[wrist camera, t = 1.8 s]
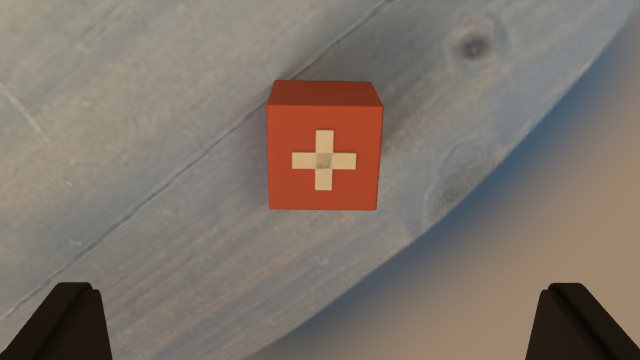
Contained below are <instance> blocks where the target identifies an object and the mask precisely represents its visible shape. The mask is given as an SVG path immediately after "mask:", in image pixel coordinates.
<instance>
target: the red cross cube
mask: <svg viewBox="0 0 640 360" xmlns="http://www.w3.org/2000/svg"><path fill="white" fill-rule="evenodd" d="M383 110H384V107H383V105H382V103H381V101H380V99H379V97H378V95H377V93H376V91H375V89H374V88H373V86H372V84H371V82H350V81H291V80H276V81H275V82H274V85H273V88H272V91H271V94H270V97H269V100H268V103H267V144H268V190H269V209H286V210H376V208H377V194H378V180H379V166H380V152H381V138H382V124H383Z"/></svg>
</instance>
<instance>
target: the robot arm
mask: <svg viewBox="0 0 640 360" xmlns="http://www.w3.org/2000/svg"><path fill="white" fill-rule="evenodd" d="M0 360H112V354H111V348H110V343H109V337H108V332H107V326H106V320H105V315H104V309H103V304H102V298H101V294H100V291H99V290H97V289H92V286H91V285H90V283H88V282H61V283H58V284H57V285H56V286H55V287H54V288H53V290H52V291H51V292H50V293H49V295H48V296H47V297H46V298H45V300H44V301H43V302H42V304H41V305H40V306H39V307H38V309H37V310H36V311H35V312H34V314H33V315H32V316H31V318H30V319H29V320H28V321H27V323H26V324H25V325H24V326H23V328H22V329H21V330H20V331H19V333H18V334H17V335H16V337H15V338H14V339H13V340H12V342H11V343H10V344H9V345H8V347H7V348H6V349H5V350H4V351H3V352H2V353H1V354H0ZM525 360H640V349H639V348H638V346H637V345H636V344H635V343H634V342H633V341H632V340H631V338H630V337H629V336H628V335H627V334H626V333H625V332H624V330H623V329H622V328H621V327H620V326H619V325H618V324H617V323H616V321H615V320H614V319H613V318H612V317H611V316H610V315H609V313H608V312H607V311H606V310H605V309H604V308H603V307H602V306H601V304H600V303H599V302H598V301H597V300H596V299H595V298H594V296H593V295H592V294H591V293H590V292H589V291H588V290H587V289H586V287H584V286H583V285H582V284H580V283H552V284H550V286H549V287H548V290H543V291H542V292H541V294H540V297H539V302H538V306H537V310H536V314H535V319H534V324H533V328H532V332H531V336H530V341H529V345H528V350H527V354H526V358H525Z"/></svg>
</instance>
